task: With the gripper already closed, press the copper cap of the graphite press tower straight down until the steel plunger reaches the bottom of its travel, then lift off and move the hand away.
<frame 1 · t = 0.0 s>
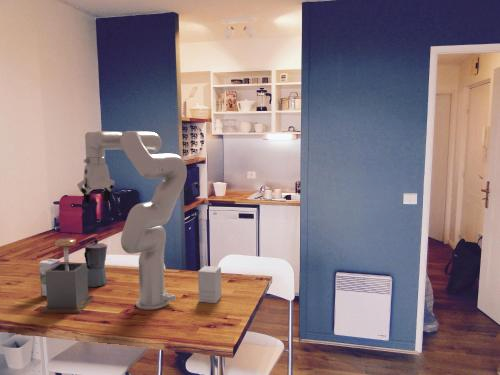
hand: (97, 201, 179), 37 cm above the table, tool pointing down, fingers open, 9 cm apart
moka pot: (96, 285, 186), on the table
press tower: (68, 305, 163), on the table
syrup box: (51, 295, 174), on the table
plunger: (66, 258, 161), point 19 cm above the table, slide at 0.0 cm
supplement box: (210, 299, 169), on the table
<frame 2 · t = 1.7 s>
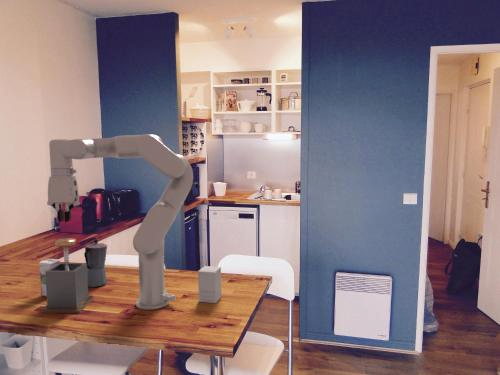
hand: (64, 221, 159), 33 cm above the table, tool pointing down, fingers closed
nothing on the table moved.
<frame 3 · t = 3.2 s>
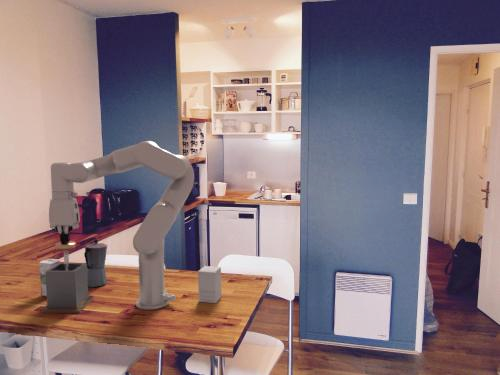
hand: (65, 243, 160), 25 cm above the table, tool pointing down, fingers closed
plunger: (66, 261, 161), point 17 cm above the table, slide at 1.1 cm, touching gripper
everything else where it was.
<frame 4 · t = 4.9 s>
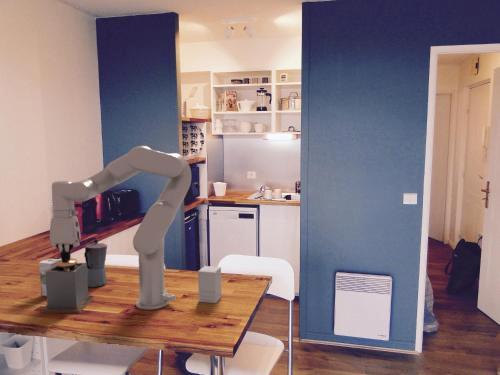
hand: (66, 261, 161), 18 cm above the table, tool pointing down, fingers closed
plunger: (67, 278, 162), point 11 cm above the table, slide at 8.1 cm, touching gripper
everything else where it was.
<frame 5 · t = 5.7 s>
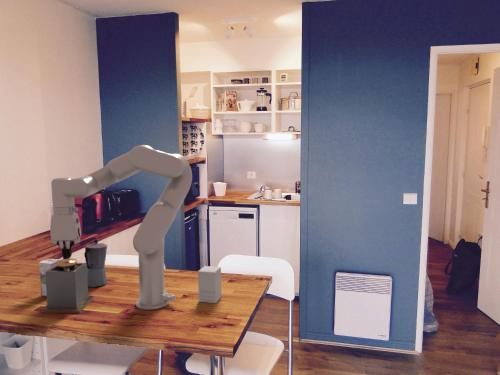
hand: (67, 258, 161), 19 cm above the table, tool pointing down, fingers closed
plunger: (67, 278, 162), point 11 cm above the table, slide at 8.1 cm
everything else where it was.
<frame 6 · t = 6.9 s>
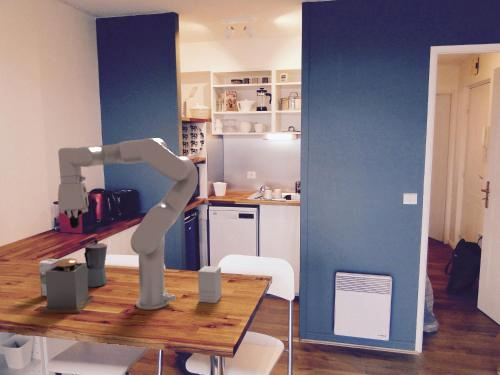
hand: (75, 227, 162), 30 cm above the table, tool pointing down, fingers closed
nothing on the table moved.
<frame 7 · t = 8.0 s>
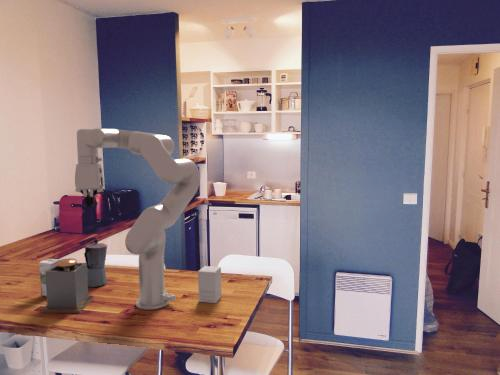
hand: (90, 206, 168), 37 cm above the table, tool pointing down, fingers closed
nothing on the table moved.
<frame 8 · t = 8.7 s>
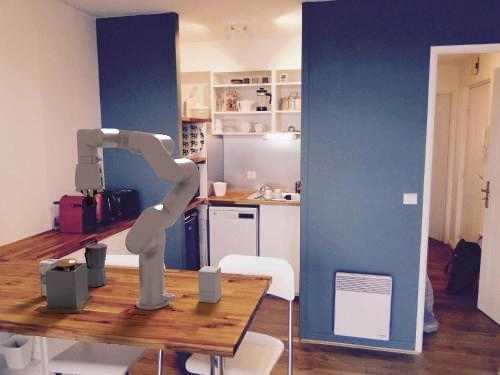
hand: (90, 206, 168), 37 cm above the table, tool pointing down, fingers closed
nothing on the table moved.
at the end: plunger slide at 8.1 cm; syrup box moved 0.2 cm from its start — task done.
